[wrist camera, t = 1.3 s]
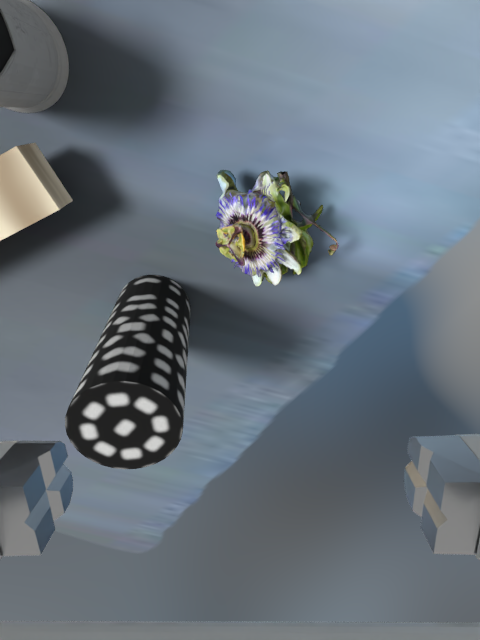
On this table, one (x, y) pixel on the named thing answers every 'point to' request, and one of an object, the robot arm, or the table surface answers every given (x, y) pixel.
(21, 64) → the electric kettle
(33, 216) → the plank
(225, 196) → the passion flower
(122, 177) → the table surface
